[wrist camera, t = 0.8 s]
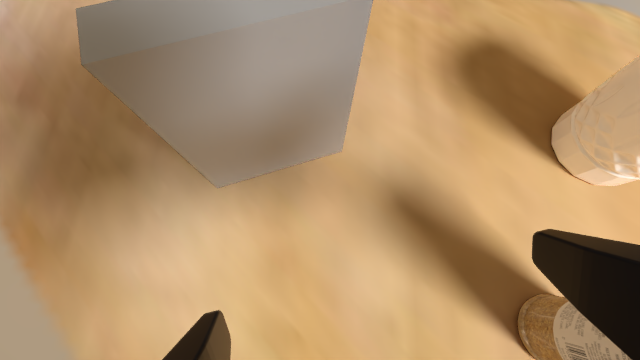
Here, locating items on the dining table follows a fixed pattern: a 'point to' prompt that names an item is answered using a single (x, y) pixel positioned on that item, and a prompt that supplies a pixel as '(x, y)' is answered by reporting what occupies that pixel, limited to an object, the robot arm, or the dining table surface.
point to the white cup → (603, 131)
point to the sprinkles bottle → (562, 332)
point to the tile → (232, 76)
